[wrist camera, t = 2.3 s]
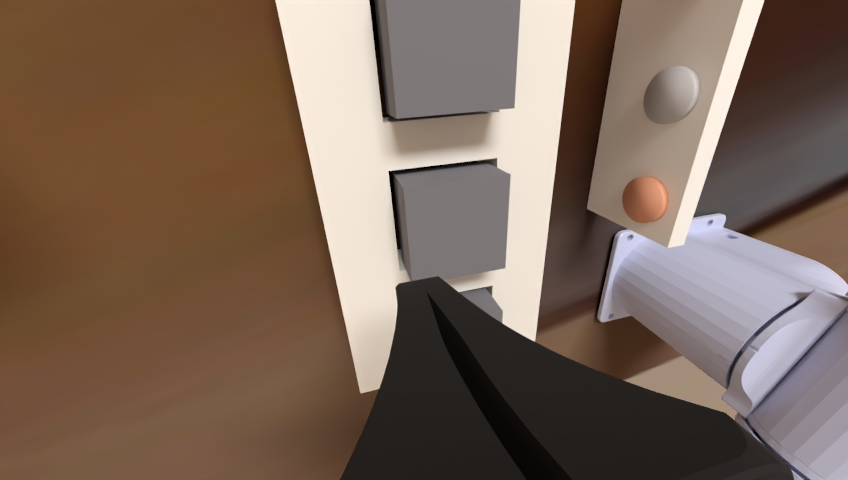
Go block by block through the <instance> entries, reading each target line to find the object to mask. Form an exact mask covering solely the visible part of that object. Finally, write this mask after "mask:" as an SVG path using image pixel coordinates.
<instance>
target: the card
mask: <svg viewBox="0 0 848 480" xmlns="http://www.w3.org/2000/svg"><path fill="white" fill-rule="evenodd" d="M763 3H764V0H622V5H621V11H620V17H619V22H618V28H617V34H616V40H615V46H614V52H613V58H612V64H611V69H610V75H609V81H608V87H607V93H606V99H605V105H604V110H603V116H602V122H601V128H600V134H599V140H598V146H597V152H596V157H595V163H594V169H593V175H592V181H591V187H590V193H589V198H588V204H587V209H588V210H590V211H592V212H594V213H596V214H598V215H601V216H603V217H605V218H607V219H609V220H611V221H613V222H615V223H617V224H619V225H621V226H623V227H625V228H627V229H629V230H631V231H633V232H636V233H638V234H640V235H642V236H644V237H646V238H648V239H650V240H652V241H654V242H656V243H658V244H660V245H662V246H664V247H666V248H670V247H676V246H681V245H684V243H685V240H686V237H687V234H688V231H689V228H690V225H691V222H692V218H693V215H694V212H695V209H696V206H697V203H698V200H699V197H700V194H701V191H702V188H703V185H704V182H705V179H706V176H707V173H708V170H709V167H710V164H711V161H712V158H713V155H714V152H715V149H716V145H717V142H718V139H719V136H720V133H721V130H722V127H723V124H724V121H725V118H726V115H727V112H728V109H729V106H730V103H731V100H732V97H733V94H734V91H735V88H736V85H737V82H738V79H739V76H740V72H741V69H742V66H743V63H744V60H745V57H746V54H747V51H748V48H749V45H750V42H751V39H752V36H753V33H754V30H755V27H756V24H757V21H758V18H759V15H760V12H761V9H762V6H763Z"/></svg>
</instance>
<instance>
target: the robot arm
mask: <svg viewBox="0 0 848 480" xmlns="http://www.w3.org/2000/svg"><path fill="white" fill-rule="evenodd" d="M725 221H726V216H725V215H723V214H720V213H718V214H712V215H706V216H701V217H695V218H692V222H691V225H690V228H689V231H688V234H687V237H686V240H685V243H684V245H681V246H676V247H670V248H666V247H664V246H662V245H660V244H658V243H656V242H654V241H652V240H650V239H648V238H646V237H644V236H642V235H640V234H638V233H636V232H633V231H631V230H629V229H628V230H622V231H619V232H618V233H617V234H616V235H615V238H614V242H613V246H612V251H611V256H610V260H609V265H608V269H607V274H606V278H605V283H604V287H603V292H602V296H601V301H600V306H599V310H598V315H597V319H598V320H599V321H600V322H607V321H611V320H616V319H620V318H624V317H628V316H632V317H634V318H635V319H636V320H638V321H639V322H640V323H641V324H643V325H644V326H645V327H647V328H648V329H649V330H650V331H652V332H653V333H654V334H656V335H657V336H658V337H659V338H661V339H662V340H663V341H665V342H666V343H667V344H668V345H670V346H671V347H672V348H674V349H675V350H676V351H678V352H679V353H680V354H681V355H683V356H684V357H685V358H687V359H688V360H689V361H690V362H692V363H693V364H694V365H696V366H697V367H698V368H699V369H701V370H702V371H703V372H705V373H706V374H707V375H708V376H710V377H711V378H713V379H714V380H715V381H716V382H717V383H719V384H720V385H721V386H723V387H724V388H725V389H727V391H726V392H725V394H724V395H723V396H722V400H723V401H725V402H726V403H728V405H730V406H731V407H732V408H733V409H735V410H736V411H737V412H738V413H737V415H736V416H735V420H733V419H732V418H731V417H730V416H728V415H727V414H726V413H724V412H720V411H717V410H713V409H710V408H707V407H704V406H700V405H697V404H693V403H691V402H687V401H684V400H680V399H677V398H674V397H671V396H667V395H664V394H661V393H657V392H654V391H651V390H648V389H645V388H643V387H640V386H637V385H634V384H631V383H629V382H626V381H623V380H620V379H617V378H615V377H612V376H610V375H607V374H604V373H602V372H599V371H597V370H594V369H592V368H589V367H587V366H585V365H583V364H580V363H578V362H576V361H573V360H571V359H569V358H567V357H564V356H562V355H560V354H558V353H556V352H554V351H552V350H549V349H547V348H546V347H544V346H542V345H540V344H538V343H536V342H534V341H532V340H530V339H528V338H527V337H525V336H523V335H521V334H519V333H518V332H516V331H514V330H512V329H511V328H509V327H508V326H506V325H504V324H503V323H501V322H500V321H498V320H497V319H495V318H493V317H492V316H490V315H489V314H487V313H486V312H485V311H483V310H482V309H480V308H479V307H478V306H476V305H475V304H474V303H472V302H471V301H470V300H468V299H467V298H466V297H464V296H463V295H462V294H460V293H459V292H458V291H457V290H455V289H454V288H453V287H452V286H450V285H449V284H448V283H447V282H445V281H444V280H443V279H441V278H440V277H439V276H436V277H430V278H425V279H420V280H415V281H409V282H404V283H399V284H398V285H397V286H396V287H395V289H396V297H397V317H396V325H395V332H394V337H393V341H392V346H391V350H390V355H389V359H388V362H387V366H386V369H385V373H384V376H383V379H382V382H381V385H380V388H379V391H378V394H377V396H376V399H375V402H374V405H373V407H372V410H371V413H370V415H369V418H368V420H367V422H366V425H365V427H364V430H363V432H362V434H361V436H360V438H359V441H358V443H357V445H356V447H355V449H354V451H353V454H352V456H351V458H350V460H349V462H348V464H347V466H346V469H345V471H344V473H343V475H342V477H341V479H340V480H848V285H847V283H846V282H845V281H844V280H843V279H842V278H841V277H840V276H839V275H838V274H836V273H835V272H834V271H832V270H831V269H829V268H828V267H826V266H825V265H823V264H821V263H819V262H817V261H814V260H812V259H809V258H806V257H803V256H801V255H798V254H795V253H792V252H790V251H787V250H784V249H781V248H779V247H776V246H773V245H770V244H768V243H765V242H762V241H759V240H756V239H754V238H751V237H748V236H745V235H743V234H740V233H737V232H734V231H732V230H729V229H726V228H723V226H724V223H725Z"/></svg>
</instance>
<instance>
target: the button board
mask: <svg viewBox="0 0 848 480" xmlns="http://www.w3.org/2000/svg"><path fill="white" fill-rule="evenodd" d="M275 1H276V5H277V10H278V15H279V19H280V24H281V28H282V33H283V38H284V42H285V47H286V52H287V56H288V61H289V65H290V70H291V75H292V79H293V84H294V89H295V93H296V98H297V102H298V107H299V112H300V116H301V121H302V125H303V130H304V135H305V139H306V144H307V149H308V153H309V158H310V162H311V167H312V172H313V176H314V181H315V186H316V190H317V195H318V199H319V204H320V209H321V213H322V218H323V222H324V227H325V232H326V236H327V241H328V246H329V250H330V255H331V259H332V264H333V269H334V273H335V278H336V283H337V287H338V292H339V296H340V301H341V306H342V310H343V315H344V319H345V324H346V329H347V333H348V338H349V343H350V347H351V352H352V356H353V361H354V366H355V370H356V375H357V380H358V384H359V389H360V393H364V392H369V391H373V390H377V389H379V388H380V385H381V382H382V379H383V376H384V373H385V369H386V366H387V362H388V359H389V355H390V350H391V346H392V341H393V337H394V332H395V325H396V317H397V297H396V289H395V287H396V286H397V285H398V284H399V283H404V282H409V281H410V278H409V276H408V273H407V270H406V268H405V265H404V262H403V260H402V256H401V249H399V250H397V243H396V234H395V225H394V216H393V207H392V198H391V189H390V180H389V171H394V170H402V169H410V168H419V167H427V166H435V165H444V164H452V163H460V162H469V161H477V160H478V162H482V161H485V162H487V163H489V164H491V165H493V166H495V167H497V168H499V169H501V170H503V171H505V172H507V173H509V174H511V178H510V196H509V213H508V231H507V248H506V266H505V268H504V269H499V270H494V271H488V272H483V273H478V274H472V275H467V276H462V277H457V278H451V279H446V280H444V281H445V282H447V283H448V284H449V285H450V286H452V287H453V288H454V289H455V290H457V291H458V292H462V291H467V290H472V289H477V288H482V287H485V288H486V289H487V290H488V292H489V293H490V294H491V296H492V297H493V298H494V300H495V301H496V302H497V304H498V305H499V306H500V308H501V309H502V311H503V318H502V323H503V324H504V325H506V326H508V327H509V328H511V329H512V330H514V331H516V332H518V333H519V334H521V335H523V336H525V337H527V338H528V339H530V340H532V341H534V342H535V337H536V329H537V320H538V312H539V303H540V295H541V286H542V278H543V269H544V261H545V252H546V244H547V235H548V227H549V218H550V210H551V201H552V193H553V185H554V176H555V168H556V159H557V151H558V142H559V134H560V125H561V117H562V108H563V100H564V91H565V83H566V74H567V66H568V57H569V49H570V40H571V32H572V23H573V15H574V6H575V0H521V3H520V20H519V38H518V55H517V73H516V90H515V108H511V109H500V110H489V111H478V112H467V113H456V114H445V115H434V116H422V117H411V118H400V119H396V118H394V117H383V118H382V109H381V100H380V91H379V82H378V73H377V64H376V55H375V46H374V37H373V28H372V19H371V10H370V1H369V0H275Z"/></svg>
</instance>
